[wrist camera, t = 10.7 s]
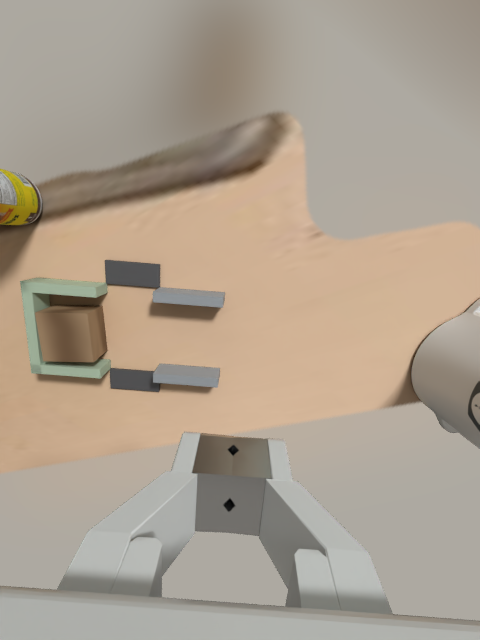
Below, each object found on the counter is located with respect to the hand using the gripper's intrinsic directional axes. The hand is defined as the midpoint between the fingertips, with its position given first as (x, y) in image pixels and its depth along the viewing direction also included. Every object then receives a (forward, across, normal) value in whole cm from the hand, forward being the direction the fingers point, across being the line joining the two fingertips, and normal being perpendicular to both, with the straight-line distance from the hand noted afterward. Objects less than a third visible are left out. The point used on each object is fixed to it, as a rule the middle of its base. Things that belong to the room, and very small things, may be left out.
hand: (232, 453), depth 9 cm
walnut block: (+29, +20, +7) cm, 36 cm away
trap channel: (+29, +14, +6) cm, 33 cm away
